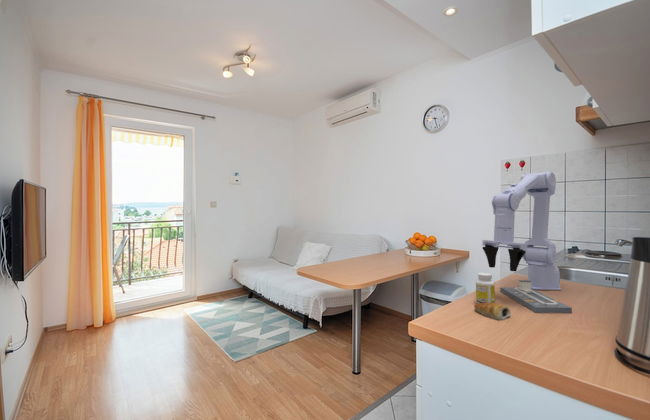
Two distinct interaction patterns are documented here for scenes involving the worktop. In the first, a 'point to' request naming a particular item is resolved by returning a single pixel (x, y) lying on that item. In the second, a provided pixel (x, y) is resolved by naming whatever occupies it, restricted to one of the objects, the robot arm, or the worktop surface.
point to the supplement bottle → (485, 288)
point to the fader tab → (525, 286)
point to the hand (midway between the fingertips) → (502, 269)
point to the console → (536, 301)
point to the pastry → (493, 310)
